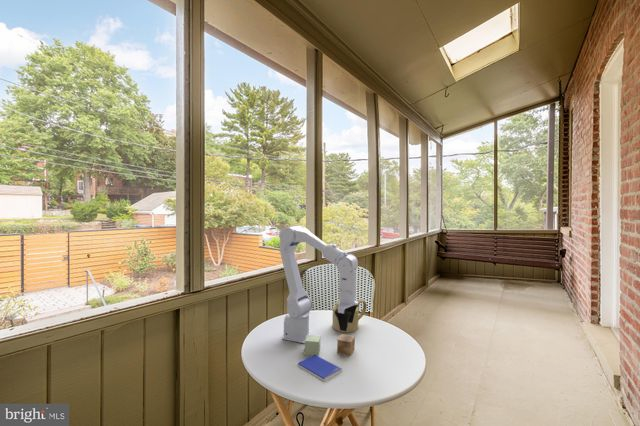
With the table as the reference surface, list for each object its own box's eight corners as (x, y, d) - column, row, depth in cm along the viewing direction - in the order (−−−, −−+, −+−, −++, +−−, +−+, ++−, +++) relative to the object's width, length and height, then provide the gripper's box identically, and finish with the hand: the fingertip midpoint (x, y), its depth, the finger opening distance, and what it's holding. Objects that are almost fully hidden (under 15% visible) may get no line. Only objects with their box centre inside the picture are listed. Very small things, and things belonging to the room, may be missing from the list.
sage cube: (304, 354, 113) (304, 340, 113) (306, 347, 118) (307, 334, 118) (318, 355, 112) (318, 341, 112) (320, 348, 117) (320, 335, 117)
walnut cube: (337, 353, 114) (337, 339, 114) (341, 347, 119) (341, 334, 119) (350, 356, 113) (350, 342, 112) (354, 349, 117) (354, 336, 117)
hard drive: (342, 368, 103) (315, 354, 111) (324, 378, 97) (297, 362, 106) (342, 372, 103) (315, 358, 112) (324, 383, 97) (297, 367, 106)
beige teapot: (346, 317, 148) (346, 285, 147) (367, 323, 141) (368, 290, 140) (327, 328, 136) (327, 293, 135) (349, 335, 129) (350, 298, 128)
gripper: (352, 296, 106) (351, 336, 107) (363, 285, 120) (362, 320, 121) (332, 293, 109) (331, 332, 110) (345, 283, 122) (344, 317, 123)
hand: (346, 326), depth 115 cm, fingers open, 7 cm apart
